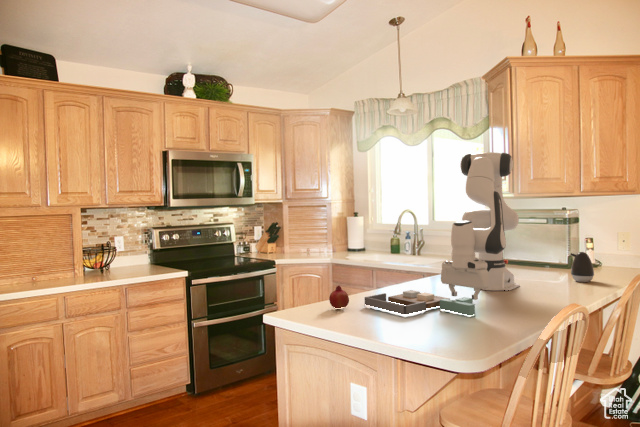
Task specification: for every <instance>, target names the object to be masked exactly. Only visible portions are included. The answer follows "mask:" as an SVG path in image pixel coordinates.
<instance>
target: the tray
mask: <svg viewBox="0 0 640 427" xmlns="http://www.w3.org/2000/svg"><path fill="white" fill-rule="evenodd" d="M365 304H366V305H370V306H374V307H378V308H382V309H386V310H389V311H394V312H398V313H401V314H409V313H413V312H418V311H422V310H426V302H425V301H424V302H419V303H415V304H410V305H406V306H404V305H399V304H395V303H391V302H388V301H387V293H384V292H383V293H379V294H375V295H368V296H365V297H364V305H365Z"/></svg>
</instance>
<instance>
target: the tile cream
mask: <svg viewBox="0 0 640 427" xmlns="http://www.w3.org/2000/svg"><path fill="white" fill-rule="evenodd" d="M420 293H421V294H417V299H419V300H424V301H429V300H433V299H434V296H435V293H429V292H420Z"/></svg>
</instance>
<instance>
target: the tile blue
mask: <svg viewBox="0 0 640 427" xmlns="http://www.w3.org/2000/svg"><path fill="white" fill-rule="evenodd" d="M420 293H421V291H419V290H418V291H417V290H414V289H413V290H412V289H409V290H405V291H403V292H402V294H403V296H404V297H409V298H414V297H417V294H420Z"/></svg>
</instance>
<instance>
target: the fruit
mask: <svg viewBox="0 0 640 427" xmlns="http://www.w3.org/2000/svg"><path fill="white" fill-rule="evenodd" d="M328 297H329V298H328V300H329V301H328V302H329V304H330V306H332V307H333V308H334V307H335V308H341V307H345V308H346V307H347V306H348V305H349V303H350V298H349V295H348V292H346V290H343V289H342V287H341V285H337V286H336V287H335V290H334V291H332V292H331V293H330V295H329V296H328ZM335 308H334V309H335Z"/></svg>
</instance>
